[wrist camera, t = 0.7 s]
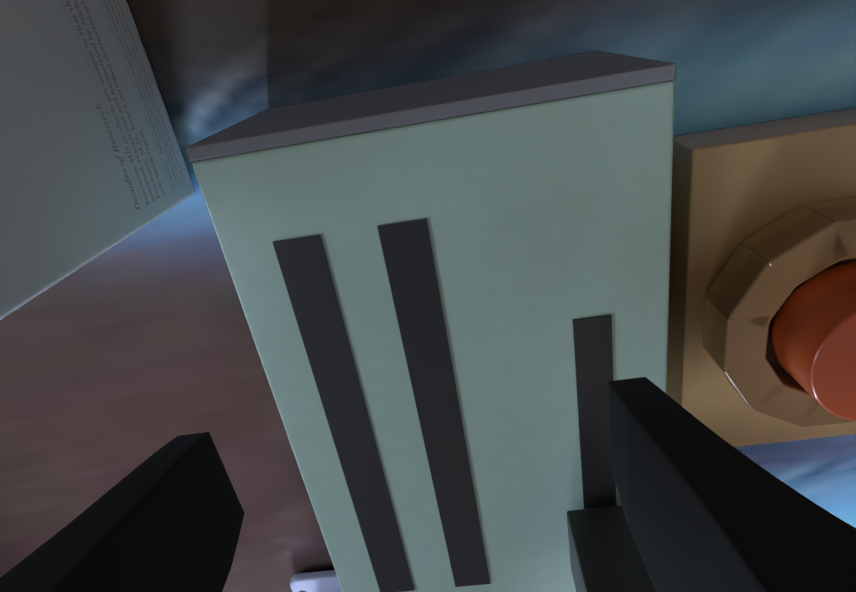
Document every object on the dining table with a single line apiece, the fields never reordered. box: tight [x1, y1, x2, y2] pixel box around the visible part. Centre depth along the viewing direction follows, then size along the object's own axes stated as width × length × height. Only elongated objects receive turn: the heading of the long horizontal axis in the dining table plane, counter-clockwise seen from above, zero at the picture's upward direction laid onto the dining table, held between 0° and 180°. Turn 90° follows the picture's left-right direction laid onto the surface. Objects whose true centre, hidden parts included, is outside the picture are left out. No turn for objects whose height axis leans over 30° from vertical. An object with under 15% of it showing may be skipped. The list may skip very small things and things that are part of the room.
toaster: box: [185, 51, 676, 592], centre depth 17 cm, size 17×10×6 cm, turn 9°
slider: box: [567, 505, 656, 592], centre depth 14 cm, size 2×2×3 cm
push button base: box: [666, 108, 856, 447], centre depth 17 cm, size 11×8×4 cm
